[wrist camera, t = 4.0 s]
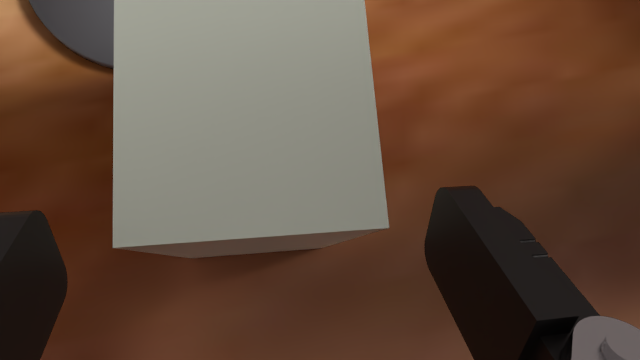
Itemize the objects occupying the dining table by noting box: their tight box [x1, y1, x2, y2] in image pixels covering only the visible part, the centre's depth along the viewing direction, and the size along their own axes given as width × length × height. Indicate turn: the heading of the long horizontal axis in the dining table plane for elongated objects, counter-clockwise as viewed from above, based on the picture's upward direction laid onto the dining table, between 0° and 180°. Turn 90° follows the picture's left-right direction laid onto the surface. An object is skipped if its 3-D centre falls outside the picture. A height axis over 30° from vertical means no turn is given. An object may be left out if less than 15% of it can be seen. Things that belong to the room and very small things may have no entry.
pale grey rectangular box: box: [113, 0, 389, 258], centre depth 14 cm, size 8×5×10 cm, turn 5°
